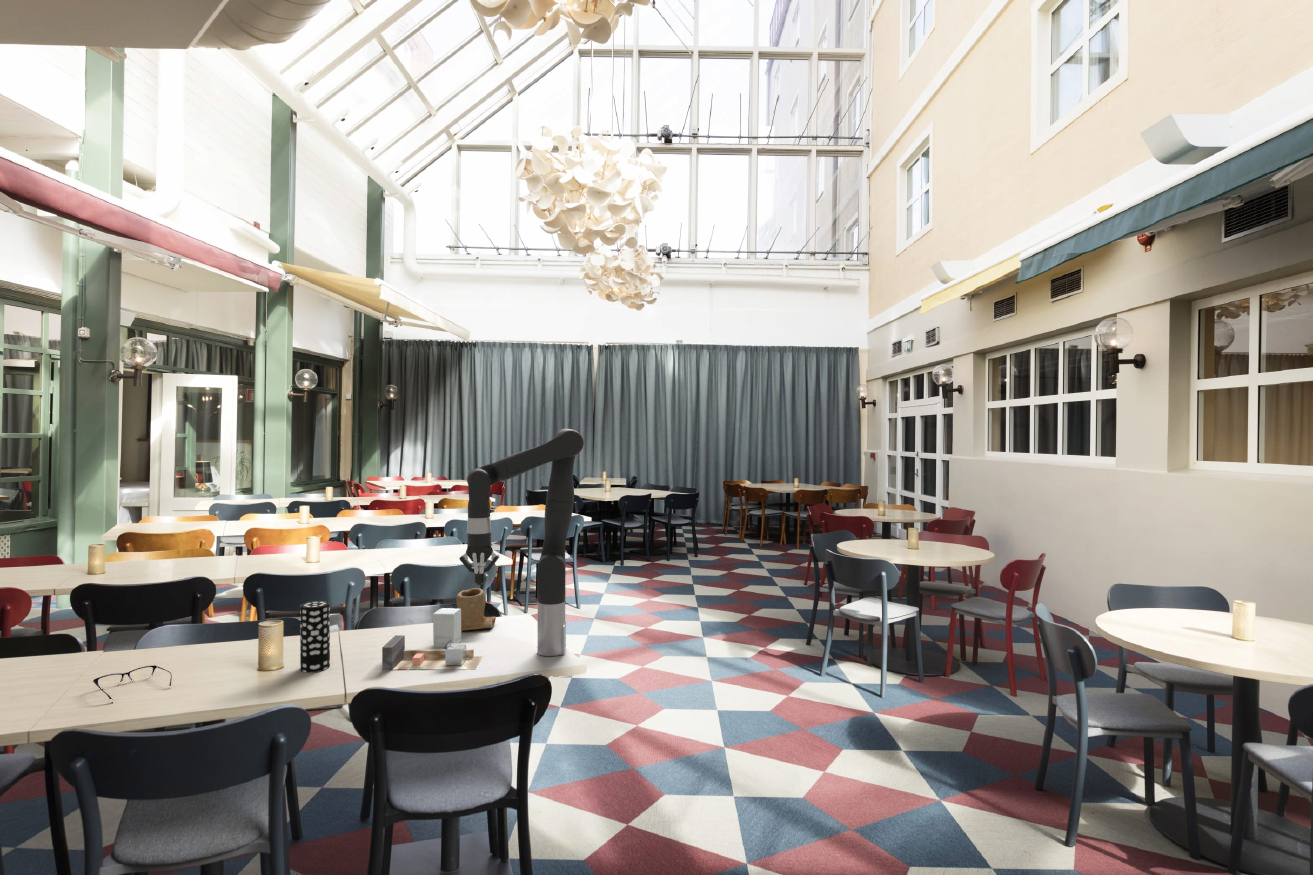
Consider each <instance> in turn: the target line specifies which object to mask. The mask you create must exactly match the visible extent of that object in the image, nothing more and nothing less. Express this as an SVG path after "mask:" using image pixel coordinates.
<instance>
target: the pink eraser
mask: <svg viewBox="0 0 1313 875" xmlns="http://www.w3.org/2000/svg"><path fill="white" fill-rule="evenodd" d="M423 662H424V654H415V656H414V657H413V658H412V666H420V665H421V664H422V663H423Z"/></svg>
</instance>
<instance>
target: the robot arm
mask: <svg viewBox="0 0 1313 875" xmlns="http://www.w3.org/2000/svg"><path fill="white" fill-rule="evenodd" d="M584 442H585V441H584V437H583V436H582V434H581V433H579V431H576V430H575V429H572V428H561V429H559V430H558V431H557V432H556V433H555V434H554V436H553V438H552V439H551V440H549V441H547V442H545V443H542V444H540V445H538V446H535V447H532V448H528V449H525V450H522V451H519V452H516V453H515V452H514V453H513V454H510V455H507V456H505V457H503V458H501V459H499V460H496V461H495V462H492V463H489V464H485V465H482V466H480V467H477V468H475V469H471V471H470V472H469V473H467V477H466V482H467V485H468V486H467V489H468V502H467V521H466V532H467V533H466V538H467V539H466V541H467V542H466V544H467V546H466V547H467V548H466V550H465V553H464V554H463V555H461V556H460V557H459V561H460V562H461V563H462V564H463V566H464V567H465V568H466V569H467V571H468V572H470V573H474V582H475V584H476V585H477V586H482V585H483V584H485V581H486V579H485V578H486V576H485V575H486V573H487V572H489V571H490V570H491V569H492V567H493V566H494V565H495V564H496V562H497V561H498V560H499V559H500V555H499V554H496V553H495V552H494V549H493V547H492V521H491V502H490V498H491V488H492V487H491V486H493V485H495V484H496V483H499V482H504V481H507V480H510V479H513V478H514V477H517V476H520V475H522V474H524V473H526V472H528V471H531V470H534V469H535V468H538V467H540V466H542V465H546V464H547V463H551V470H550V471H551V472H550V476H549V481H548V487H547V492H546V499H545V507H544V538H543V544H542V549H541V554H540V557H539V560H538V562H537V568H536V569H537V572H536V573H537V576H536V577H537V578H536V581H537V584H536V585H537V586H536V587H537V589H536V590H537V591H536V592H537V645H536V646H537V654H538V655H540V656H544V657H557V656H561V655H562V656H564V655H565V654H566V650H567V621H566V595H567V594H566V592H567V591H566V576H567V575H566V572H567V570H566V543H567V542H566V541H567V536H568V532H569V528H570V525H571V521H572V517H573V511H574V502H575V485H574V474H573V473H574V464H575V459H576V456H577V455H579V453H580V452H582V450H583V448H584ZM469 559H470V561H471V562H472V563H473V565H472V564H471V562H470V561H469ZM489 559H491V561H490V563H489V564H488V565H487V566H486V563H487V562H488V560H489Z"/></svg>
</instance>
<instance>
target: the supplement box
mask: <svg viewBox="0 0 1313 875" xmlns="http://www.w3.org/2000/svg"><path fill="white" fill-rule="evenodd" d="M432 618H433V619H432V621H433V622H432V624H433V625H432V628H433V630H432V631H433V634H432V636H433V638H432V639H433V642H432V643H433V647H443V648H444V645H445V644H446V643H447V642H448V640H450V639H452V643H462V630H461V609H458V608H453V607H452V608H448V607H447V608H444V607H441V608H439V609H438V610H437V611H435V612H434V613H432Z"/></svg>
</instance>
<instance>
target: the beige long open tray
mask: <svg viewBox="0 0 1313 875" xmlns="http://www.w3.org/2000/svg"><path fill="white" fill-rule="evenodd" d="M405 638H406V635H401V634H400V635H398V634H397V635H396V634H395V635H394V636H393V637H392V638H391V639H389V641H387V642H386V643H385V644H384V645H383V646H382V648H381V654H382V655H381V664H382V665H381V669H382V670H381V671H382V672H383V671H467V670H468V671H470V670H473V671H475V670H476V669H477V668H478V666H479V665H480V662H482V659H483V658H484V656H483V655H482V656H479V655H478V656H477V655H476V656H475V653H474V652H475V650H474V649H473V648H471V649H469V648H468V649H467V648H466V660H465V661H464V663H463V664H462V665H445V649H444V648H443V649H406V644H405V643H406V639H405ZM415 654H424V662H423V663H422V664H421V665H420V666H412V658H413V657H414V656H415Z"/></svg>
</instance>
